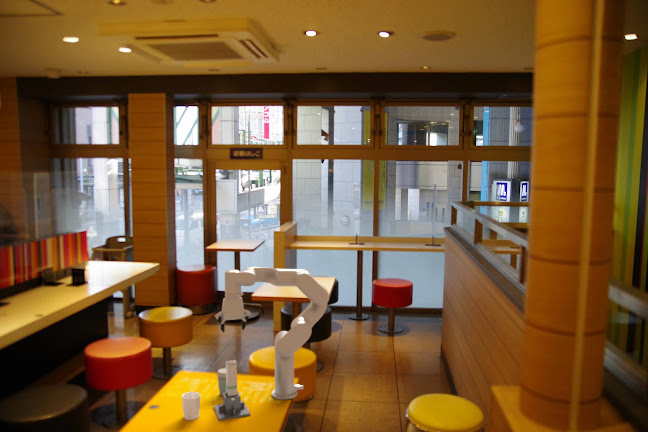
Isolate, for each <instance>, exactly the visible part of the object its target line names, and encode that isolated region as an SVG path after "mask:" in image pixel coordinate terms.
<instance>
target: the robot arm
mask: <svg viewBox="0 0 648 432" xmlns="http://www.w3.org/2000/svg"><path fill="white" fill-rule="evenodd" d="M256 283H267V284H270V285H273V286H274V287H275V286H276V287H296V288H297V289H298V290H299V291H300V292H301V293H302V294H303V295H304V296H305V297H306V298H307V299H308V300H310V303H309V304H308V305H307V306H306V308H305V309H304V310H303V311H301V313H299V315H298V316H297V317H295V318H294V319H293V320H292V321H291V322H290V323H291V324H290V329H289V330H288V331H287V330H281V331H279V332H277V334H276V335H275V337H274V341H273V343H274V389H273V390H272V391H271V396H272V397H273V398H274V399H277V400H291V399H294V398H295V397H297V396H298V390H304V385H300V384H299V383H298V384H295V353H296V352H297V351H298V350H299V349H300V348H301V347H302V346H304V344H306V343H307V341H308V340H309V339H310V337H311V335H312V328H313V327H314V325H315V324H316V323H317V322H319V320H320V319H321V318H322V317H323V316H324V314H325V313H326V310H327V307H328V302H329V300H330V293H329V292H328V290H327V288H326V286H324V285H323V284H320V283H318V281H316V280H315V279H314V277H313V276H312V275H311V273H310V272H309V271H308V270H307V269H304V268H274V267H264V266H263V267H261V266H259V267H258V266H252V267H251V266H249V267H245V268H243V270H242V271H240V270H239V269H229V270H226V271H224V298H223V299H222V306H221V311H219V312H218V313H216V314H214V318H215V319H216V321H217V322H218V323H220V331H222V333H225V327H226V326H225V325H226V324H225V322H226V321H231V320H241V329H242V331H245V329H246V322H247V320H249V319H250V316H251V314H252V313H251V311H249V310H247V309H245V308H244V307H245V306H244V301H243V297H242V296H244V295H245V294H244V293H245V292H242V288H241V287H252V286H254V285H255V284H256ZM245 314H246V315H245ZM220 316H221V317H222V318H221V319H220V318H219V317H220Z"/></svg>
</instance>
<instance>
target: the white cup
mask: <svg viewBox="0 0 648 432" xmlns="http://www.w3.org/2000/svg"><path fill="white" fill-rule="evenodd" d="M181 400H182V401H181V402H182V412H183V413H182V414H183V419H184V420H187V421H194V420H196V419H198V418H199V417H200V407H201V393H200V392H198V391H189V392H184V393H183V394H182V396H181Z"/></svg>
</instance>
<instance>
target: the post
mask: <svg viewBox="0 0 648 432" xmlns="http://www.w3.org/2000/svg"><path fill="white" fill-rule="evenodd" d="M224 363H225V368H226V396H227V398H229V397H235V396H237V391H238V369H237V368H238V366H237V365H238V361H237V360H236V359H232V360H225V361H224Z"/></svg>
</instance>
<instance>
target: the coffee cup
mask: <svg viewBox="0 0 648 432" xmlns="http://www.w3.org/2000/svg"><path fill="white" fill-rule="evenodd" d="M216 376H217V382H218V389H219V390H218V391H219V396H221V397H223V393H225V392H226V367H223V368H219V369H218V370H217V373H216Z"/></svg>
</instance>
